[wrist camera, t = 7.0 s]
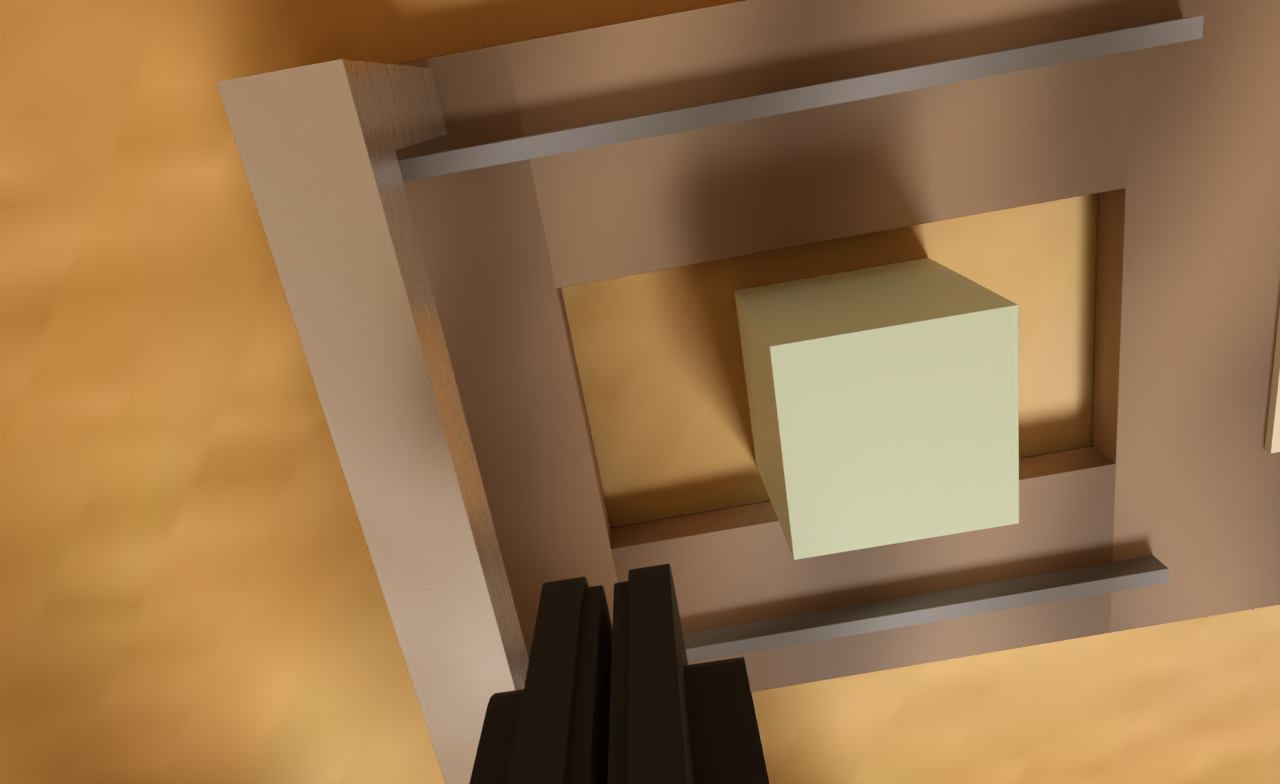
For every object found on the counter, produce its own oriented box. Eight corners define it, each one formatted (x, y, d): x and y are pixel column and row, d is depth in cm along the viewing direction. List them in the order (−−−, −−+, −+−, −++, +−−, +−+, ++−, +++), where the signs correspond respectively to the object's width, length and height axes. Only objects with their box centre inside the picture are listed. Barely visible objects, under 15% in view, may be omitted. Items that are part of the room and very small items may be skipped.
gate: (431, 68, 16) (341, 59, 10) (588, 720, 21) (583, 937, 16) (348, 83, 16) (215, 81, 10) (526, 731, 21) (499, 950, 16)
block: (926, 257, 19) (1018, 305, 15) (934, 434, 20) (1019, 523, 16) (733, 289, 19) (769, 346, 15) (755, 463, 20) (794, 560, 16)
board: (1715, -174, 16) (1829, -200, 15) (1543, 533, 22) (1614, 566, 20) (316, 82, 17) (288, 81, 15) (496, 707, 22) (488, 752, 21)
